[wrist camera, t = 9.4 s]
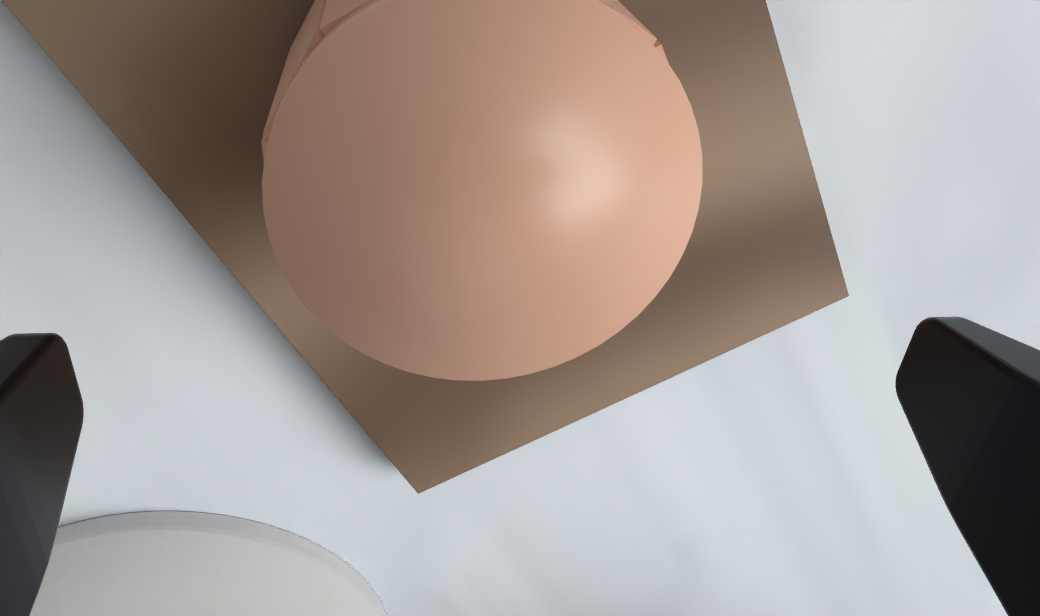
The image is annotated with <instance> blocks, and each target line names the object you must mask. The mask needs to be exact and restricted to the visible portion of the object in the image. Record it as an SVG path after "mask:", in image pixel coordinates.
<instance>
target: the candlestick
mask: <svg viewBox="0 0 1040 616" xmlns="http://www.w3.org/2000/svg"><path fill="white" fill-rule="evenodd" d="M30 616H387V613H386V611H385V608H384V606H383V604H382V602H381V600H380V599H379V597H378V595H377V594H376V592H375V591H374V590H373V589H372V587H371V586H370V585H369V584H368V582H367V581H366V580H365V579H364V578H363V577H362V576H361V575H360V574H359V573H358V572H357V571H356V570H355V569H353V568H352V567H351V566H350V565H349V564H347V563H346V562H345V561H343V560H342V559H341V558H339V557H338V556H336V555H335V554H333V553H331V552H330V551H328V550H327V549H325V548H323V547H321V546H319V545H317V544H315V543H313V542H311V541H309V540H307V539H305V538H303V537H301V536H298V535H296V534H293V533H291V532H288V531H285V530H283V529H279V528H276V527H273V526H270V525H266V524H263V523H259V522H255V521H251V520H247V519H242V518H237V517H231V516H225V515H218V514H210V513H201V512H184V511H150V512H135V513H125V514H116V515H110V516H104V517H98V518H93V519H89V520H84V521H80V522H76V523H72V524H69V525H66V526H62V527H59V528H58V529H57V533H56V537H55V541H54V545H53V549H52V552H51V556H50V560H49V563H48V566H47V569H46V572H45V575H44V578H43V581H42V584H41V587H40V589H39V592H38V595H37V597H36V600H35V603H34V605H33V608H32V611H31V613H30Z"/></svg>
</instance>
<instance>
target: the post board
mask: <svg viewBox="0 0 1040 616" xmlns="http://www.w3.org/2000/svg"><path fill="white" fill-rule="evenodd" d="M2 1H3V2H4V3H5V4H6V6H7V7H8V8H9V9H10V10H11V12H12V13H13V14H14V15H15V16H16V18H17V19H18V20H19V21H20V22H21V23H22V25H23V26H24V27H25V28H26V29H27V31H28V32H29V33H30V34H31V35H32V36H33V38H34V39H35V40H36V41H37V42H38V44H39V45H40V46H41V47H42V48H43V50H44V51H45V52H46V53H47V54H48V55H49V57H50V58H51V59H52V60H53V61H54V63H55V64H56V65H57V66H58V67H59V69H60V70H61V71H62V72H63V73H64V74H65V76H66V77H67V78H68V79H69V80H70V82H71V83H72V84H73V85H74V86H75V87H76V89H77V90H78V91H79V92H80V93H81V95H82V96H83V97H84V98H85V99H86V101H87V102H88V103H89V104H90V105H91V106H92V108H93V109H94V110H95V111H96V112H97V114H98V115H99V116H100V117H101V118H102V119H103V121H104V122H105V123H106V124H107V125H108V127H109V128H110V129H111V130H112V131H113V133H114V134H115V135H116V136H117V137H118V138H119V140H120V141H121V142H122V143H123V144H124V146H125V147H126V148H127V149H128V150H129V151H130V153H131V154H132V155H133V156H134V157H135V159H136V160H137V161H138V162H139V163H140V165H141V166H142V167H143V168H144V169H145V170H146V172H147V173H148V174H149V175H150V176H151V178H152V179H153V180H154V181H155V182H156V183H157V185H158V186H159V187H160V188H161V189H162V191H163V192H164V193H165V194H166V195H167V197H168V198H169V199H170V200H171V201H172V202H173V204H174V205H175V206H176V207H177V208H178V210H179V211H180V212H181V213H182V214H183V216H184V217H185V218H186V219H187V220H188V221H189V223H190V224H191V225H192V226H193V227H194V229H195V230H196V231H197V232H198V233H199V234H200V236H201V237H202V238H203V239H204V240H205V242H206V243H207V244H208V245H209V246H210V248H211V249H212V250H213V251H214V252H215V253H216V255H217V256H218V257H219V258H220V259H221V261H222V262H223V263H224V264H225V265H226V266H227V268H228V269H229V270H230V271H231V272H232V274H233V275H234V276H235V277H236V278H237V280H238V281H239V282H240V283H241V284H242V285H243V287H244V288H245V289H246V290H247V291H248V293H249V294H250V295H251V296H252V297H253V298H254V300H255V301H256V302H257V303H258V304H259V306H260V307H261V308H262V309H263V310H264V312H265V313H266V314H267V315H268V316H269V317H270V319H271V320H272V321H273V322H274V323H275V325H276V326H277V327H278V328H279V329H280V331H281V332H282V333H283V334H284V335H285V336H286V338H287V339H288V340H289V341H290V342H291V344H292V345H293V346H294V347H295V348H296V349H297V351H298V352H299V353H300V354H301V355H302V357H303V358H304V359H305V360H306V361H307V363H308V364H309V365H310V366H311V367H312V368H313V370H314V371H315V372H316V373H317V374H318V376H319V377H320V378H321V379H322V380H323V381H324V383H325V384H326V385H327V386H328V387H329V389H330V390H331V391H332V392H333V393H334V395H335V396H336V397H337V398H338V399H339V400H340V402H341V403H342V404H343V405H344V406H345V408H346V409H347V410H348V411H349V412H350V413H351V415H352V416H353V417H354V418H355V419H356V421H357V422H358V423H359V424H360V425H361V427H362V428H363V429H364V430H365V431H366V432H367V434H368V435H369V436H370V437H371V438H372V440H373V441H374V442H375V443H376V444H377V446H378V447H379V448H380V449H381V450H382V451H383V453H384V454H385V455H386V456H387V457H388V459H389V460H390V461H391V462H392V463H393V464H394V466H395V467H396V468H397V469H398V470H399V472H400V473H401V474H402V475H403V476H404V478H405V479H406V480H407V481H408V482H409V483H410V485H411V486H412V487H413V488H414V489H415V491H416V492H417V493H418V494H419V493H421V492H423V491H425V490H427V489H429V488H432V487H434V486H436V485H438V484H440V483H442V482H445V481H447V480H449V479H451V478H453V477H456V476H458V475H460V474H462V473H464V472H466V471H469V470H471V469H473V468H475V467H477V466H480V465H482V464H484V463H486V462H488V461H490V460H493V459H495V458H497V457H499V456H501V455H503V454H506V453H508V452H510V451H512V450H514V449H517V448H519V447H521V446H523V445H525V444H527V443H530V442H532V441H534V440H536V439H538V438H541V437H543V436H545V435H547V434H549V433H551V432H554V431H556V430H558V429H560V428H562V427H564V426H567V425H569V424H571V423H573V422H575V421H578V420H580V419H582V418H584V417H586V416H588V415H591V414H593V413H595V412H597V411H599V410H601V409H604V408H606V407H608V406H610V405H612V404H615V403H617V402H619V401H621V400H623V399H625V398H628V397H630V396H632V395H634V394H636V393H639V392H641V391H643V390H645V389H647V388H649V387H652V386H654V385H656V384H658V383H660V382H662V381H665V380H667V379H669V378H671V377H673V376H676V375H678V374H680V373H682V372H684V371H686V370H689V369H691V368H693V367H695V366H697V365H699V364H702V363H704V362H706V361H708V360H710V359H713V358H715V357H717V356H719V355H721V354H723V353H726V352H728V351H730V350H732V349H734V348H737V347H739V346H741V345H743V344H745V343H747V342H750V341H752V340H754V339H756V338H758V337H760V336H763V335H765V334H767V333H769V332H771V331H774V330H776V329H778V328H780V327H782V326H784V325H787V324H789V323H791V322H793V321H795V320H798V319H800V318H802V317H804V316H806V315H808V314H811V313H813V312H815V311H817V310H819V309H821V308H824V307H826V306H828V305H830V304H832V303H835V302H837V301H839V300H841V299H843V298H845V297H848V296H849V295H848V291H847V287H846V284H845V280H844V277H843V273H842V270H841V266H840V263H839V259H838V256H837V252H836V249H835V245H834V241H833V238H832V234H831V231H830V227H829V224H828V220H827V217H826V213H825V210H824V206H823V203H822V199H821V195H820V192H819V188H818V185H817V181H816V178H815V174H814V171H813V167H812V164H811V160H810V156H809V153H808V149H807V146H806V142H805V139H804V135H803V132H802V128H801V125H800V121H799V118H798V114H797V110H796V107H795V103H794V100H793V96H792V93H791V89H790V86H789V82H788V79H787V75H786V71H785V68H784V64H783V61H782V57H781V54H780V50H779V47H778V43H777V40H776V36H775V33H774V29H773V25H772V22H771V18H770V15H769V11H768V8H767V4H766V1H765V0H618V1H619V2H620V3H621V4H622V5H623V6H624V7H625V8H626V9H627V10H628V11H629V12H630V13H631V14H632V15H633V16H634V17H636V18H637V19H638V20H639V21H640V22H641V23H642V24H643V25H644V26H645V27H646V28H647V29H648V30H649V31H650V32H651V33H652V34H653V35H654V36H655V37H656V38H657V40H658V41H659V42H660V43H661V44H662V47H663V50H664V52H665V55H666V58H667V60H668V63H669V65H670V67H671V68H672V70H673V71H674V73H675V74H676V76H677V77H678V79H679V80H680V82H681V84H682V87H683V89H684V91H685V93H686V95H687V97H688V100H689V102H690V104H691V106H692V110H693V113H694V116H695V120H696V123H697V127H698V130H699V136H700V143H701V150H702V157H703V161H702V190H701V197H700V204H699V210H698V213H697V217H696V220H695V224H694V228H693V231H692V234H691V236H690V239H689V241H688V244H687V246H686V248H685V251H684V253H683V255H682V257H681V259H680V261H679V262H678V264H677V266H676V268H675V269H674V271H673V273H672V275H671V276H670V278H669V279H668V281H667V282H666V283H665V285H664V286H663V287H662V289H661V290H660V291H659V293H658V294H657V295H656V297H655V298H654V299H653V300H652V301H651V302H650V303H649V304H648V305H647V306H646V307H645V309H644V310H643V311H642V312H641V313H640V314H639V315H638V316H637V317H636V318H634V319H633V320H632V321H631V322H630V323H629V324H627V325H626V326H625V327H624V328H623V329H622V330H620V331H619V332H618V333H616V334H615V335H613V336H612V337H610V338H609V339H608V340H606V341H605V342H603V343H602V344H600V345H599V346H597V347H595V348H593V349H591V350H590V351H588V352H586V353H584V354H582V355H580V356H578V357H577V358H574V359H572V360H569V361H567V362H564V363H562V364H560V365H557V366H555V367H552V368H548V369H545V370H542V371H538V372H535V373H532V374H527V375H522V376H517V377H512V378H506V379H496V380H484V381H462V380H449V379H441V378H432V377H428V376H423V375H419V374H415V373H410V372H406V371H404V370H401V369H398V368H395V367H392V366H389V365H387V364H384V363H382V362H380V361H378V360H375V359H373V358H371V357H369V356H367V355H365V354H363V353H361V352H360V351H358V350H356V349H355V348H353V347H352V346H350V345H349V344H347V343H346V342H344V341H342V340H341V339H339V338H338V337H337V336H336V335H335V334H333V333H332V332H331V331H330V330H329V329H327V328H326V327H325V326H324V325H323V324H321V323H320V322H319V320H318V319H317V318H316V317H315V316H314V315H313V314H312V313H311V312H310V311H309V310H308V309H307V308H306V307H305V305H304V304H303V303H302V302H301V300H300V299H299V297H298V296H297V294H296V293H295V292H294V290H293V289H292V287H291V286H290V285H289V283H288V281H287V279H286V277H285V275H284V273H283V271H282V270H281V268H280V266H279V264H278V262H277V260H276V257H275V254H274V251H273V248H272V245H271V242H270V240H269V237H268V232H267V227H266V222H265V217H264V212H263V195H262V177H263V168H264V160H263V151H262V142H261V141H262V137H263V131H264V128H265V125H266V122H267V119H268V116H269V113H270V110H271V106H272V103H273V100H274V97H275V94H276V91H277V88H278V85H279V81H280V78H281V75H282V72H283V69H284V66H285V63H286V60H287V56H288V53H289V50H290V48H291V46H292V44H293V42H294V40H295V38H296V36H297V34H298V32H299V30H300V28H301V26H302V24H303V22H304V20H305V18H306V17H307V15H308V13H309V11H310V9H311V7H312V5H313V3H314V1H315V0H2Z"/></svg>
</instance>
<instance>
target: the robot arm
mask: <svg viewBox="0 0 1040 616" xmlns="http://www.w3.org/2000/svg"><path fill="white" fill-rule="evenodd" d="M896 392H897V396H898V399H899V401H900V404H901V406H902V408H903V410H904V413H905V415H906V417H907V419H908V422H909V424H910V426H911V428H912V431H913V433H914V435H915V437H916V440H917V442H918V444H919V446H920V449H921V451H922V453H923V455H924V458H925V460H926V462H927V464H928V467H929V469H930V471H931V473H932V475H933V478H934V480H935V482H936V484H937V487H938V489H939V491H940V493H941V495H942V498H943V500H944V502H945V504H946V506H947V508H948V510H949V512H950V514H951V516H952V517H953V519H954V521H955V523H956V525H957V527H958V529H959V530H960V532H961V534H962V536H963V537H964V539H965V541H966V543H967V544H968V546H969V548H970V550H971V551H972V553H973V555H974V557H975V558H976V560H977V562H978V564H979V565H980V567H981V569H982V571H983V572H984V574H985V576H986V578H987V579H988V581H989V583H990V585H991V586H992V588H993V590H994V592H995V593H996V595H997V597H998V599H999V600H1000V602H1001V604H1002V606H1003V607H1004V609H1005V611H1006V613H1007V614H1008V616H1040V350H1038V349H1035V348H1033V347H1031V346H1028V345H1026V344H1024V343H1021V342H1019V341H1017V340H1014V339H1012V338H1010V337H1007V336H1005V335H1003V334H1000V333H998V332H996V331H993V330H991V329H989V328H986V327H984V326H981V325H979V324H977V323H974V322H972V321H970V320H967V319H965V318H961V317H930V318H927V319H924V320H923V321H921V322H920V323H919V325H918V326H917V327H916V329H915V331H914V334H913V336H912V339H911V341H910V343H909V346H908V348H907V351H906V353H905V355H904V358H903V360H902V363H901V365H900V367H899V370H898V372H897V376H896ZM82 424H83V401H82V397H81V393H80V390H79V386H78V383H77V379H76V375H75V372H74V368H73V365H72V361H71V358H70V354H69V350H68V347H67V345H66V343H65V341H64V340H63V338H62V337H60V336H59V335H57V334H55V333H29V334H13V335H10V336H8V337H6V338H4V339H2V340H0V616H30V613H31V611H32V608H33V605H34V603H35V600H36V597H37V595H38V592H39V589H40V587H41V584H42V581H43V578H44V575H45V572H46V569H47V566H48V563H49V560H50V556H51V552H52V549H53V545H54V541H55V537H56V533H57V529H58V525H59V520H60V516H61V512H62V508H63V504H64V500H65V495H66V491H67V487H68V483H69V479H70V475H71V470H72V466H73V462H74V458H75V454H76V450H77V445H78V441H79V437H80V433H81V429H82Z"/></svg>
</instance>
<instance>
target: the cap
mask: <svg viewBox="0 0 1040 616" xmlns="http://www.w3.org/2000/svg"><path fill="white" fill-rule="evenodd" d="M261 142H262V151H263V160H264V168H263V177H262V195H263V212H264V217H265V222H266V227H267V232H268V237H269V240H270V242H271V245H272V248H273V251H274V254H275V257H276V260H277V262H278V264H279V266H280V268H281V270H282V271H283V273H284V275H285V277H286V279H287V281H288V283H289V285H290V286H291V287H292V289H293V290H294V292H295V293H296V294H297V296H298V297H299V299H300V300H301V302H302V303H303V304H304V305H305V307H306V308H307V309H308V310H309V311H310V312H311V313H312V314H313V315H314V316H315V317H316V318H317V319H318V320H319V322H320V323H321V324H323V325H324V326H325V327H326V328H327V329H329V330H330V331H331V332H332V333H333V334H335V335H336V336H337V337H338V338H339V339H341V340H342V341H344V342H346V343H347V344H349V345H350V346H352V347H353V348H355V349H356V350H358V351H360V352H361V353H363V354H365V355H367V356H369V357H371V358H373V359H375V360H378V361H380V362H382V363H384V364H387V365H389V366H392V367H395V368H398V369H401V370H404V371H406V372H410V373H415V374H419V375H423V376H428V377H432V378H441V379H449V380H462V381H484V380H496V379H506V378H512V377H517V376H522V375H527V374H532V373H535V372H538V371H542V370H545V369H548V368H552V367H555V366H557V365H560V364H562V363H564V362H567V361H569V360H572V359H574V358H577V357H578V356H580V355H582V354H584V353H586V352H588V351H590V350H591V349H593V348H595V347H597V346H599V345H600V344H602V343H603V342H605V341H606V340H608V339H609V338H610V337H612V336H613V335H615V334H616V333H618V332H619V331H620V330H622V329H623V328H624V327H625V326H626V325H627V324H629V323H630V322H631V321H632V320H633V319H634V318H636V317H637V316H638V315H639V314H640V313H641V312H642V311H643V310H644V309H645V307H646V306H647V305H648V304H649V303H650V302H651V301H652V300H653V299H654V298H655V297H656V295H657V294H658V293H659V291H660V290H661V289H662V287H663V286H664V285H665V283H666V282H667V281H668V279H669V278H670V276H671V275H672V273H673V271H674V269H675V268H676V266H677V264H678V262H679V261H680V259H681V257H682V255H683V253H684V251H685V248H686V246H687V244H688V241H689V239H690V236H691V234H692V231H693V228H694V224H695V220H696V217H697V213H698V210H699V204H700V197H701V190H702V161H703V157H702V150H701V143H700V136H699V130H698V127H697V123H696V120H695V116H694V113H693V110H692V106H691V104H690V102H689V100H688V97H687V95H686V93H685V91H684V89H683V87H682V84H681V82H680V80H679V79H678V77H677V76H676V74H675V73H674V71H673V70H672V68H671V67H670V65H669V63H668V60H667V58H666V55H665V52H664V50H663V47H662V44H661V43H660V42H659V41H658V40H657V38H656V37H655V36H654V35H653V34H652V33H651V32H650V31H649V30H648V29H647V28H646V27H645V26H644V25H643V24H642V23H641V22H640V21H639V20H638V19H637V18H636V17H634V16H633V15H632V14H631V13H630V12H629V11H628V10H627V9H626V8H625V7H624V6H623V5H622V4H621V3H620V2H619V1H618V0H315V1H314V3H313V5H312V7H311V9H310V11H309V13H308V15H307V17H306V18H305V20H304V22H303V24H302V26H301V28H300V30H299V32H298V34H297V36H296V38H295V40H294V42H293V44H292V46H291V48H290V50H289V53H288V56H287V60H286V63H285V66H284V69H283V72H282V75H281V78H280V81H279V85H278V88H277V91H276V94H275V97H274V100H273V103H272V106H271V110H270V113H269V116H268V119H267V122H266V125H265V128H264V131H263V137H262V141H261Z"/></svg>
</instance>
